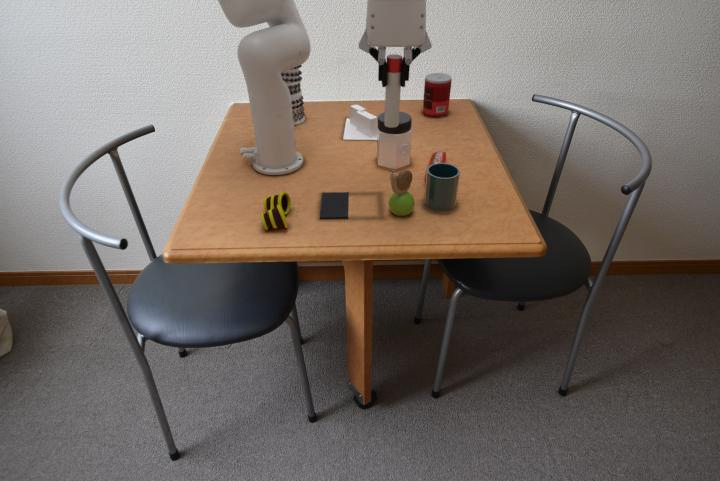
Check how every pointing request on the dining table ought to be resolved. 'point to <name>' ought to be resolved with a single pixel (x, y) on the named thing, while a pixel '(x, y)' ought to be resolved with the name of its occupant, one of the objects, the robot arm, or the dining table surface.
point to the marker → (393, 90)
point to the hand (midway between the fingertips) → (393, 83)
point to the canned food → (436, 94)
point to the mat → (334, 205)
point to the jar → (394, 142)
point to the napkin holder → (360, 125)
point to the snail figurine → (401, 193)
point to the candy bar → (437, 159)
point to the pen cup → (441, 186)
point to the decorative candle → (295, 93)
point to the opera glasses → (276, 210)
